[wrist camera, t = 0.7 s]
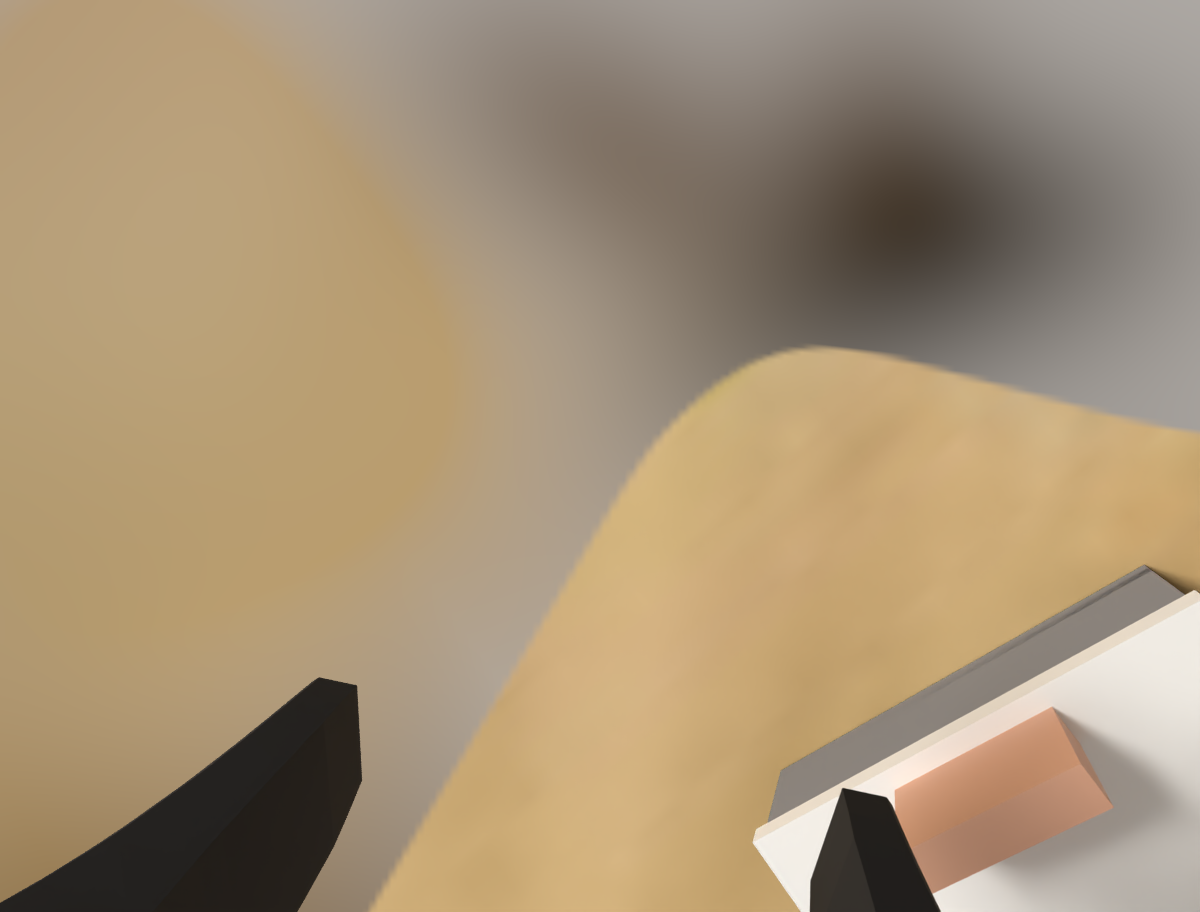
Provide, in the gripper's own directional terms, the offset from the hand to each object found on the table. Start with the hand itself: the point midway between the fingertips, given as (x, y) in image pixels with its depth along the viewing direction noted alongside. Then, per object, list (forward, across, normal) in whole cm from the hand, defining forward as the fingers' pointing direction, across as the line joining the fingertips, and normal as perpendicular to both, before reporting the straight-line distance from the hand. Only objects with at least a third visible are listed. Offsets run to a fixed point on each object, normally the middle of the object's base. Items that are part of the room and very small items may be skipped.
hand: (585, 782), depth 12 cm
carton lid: (+9, -13, +10) cm, 19 cm away
